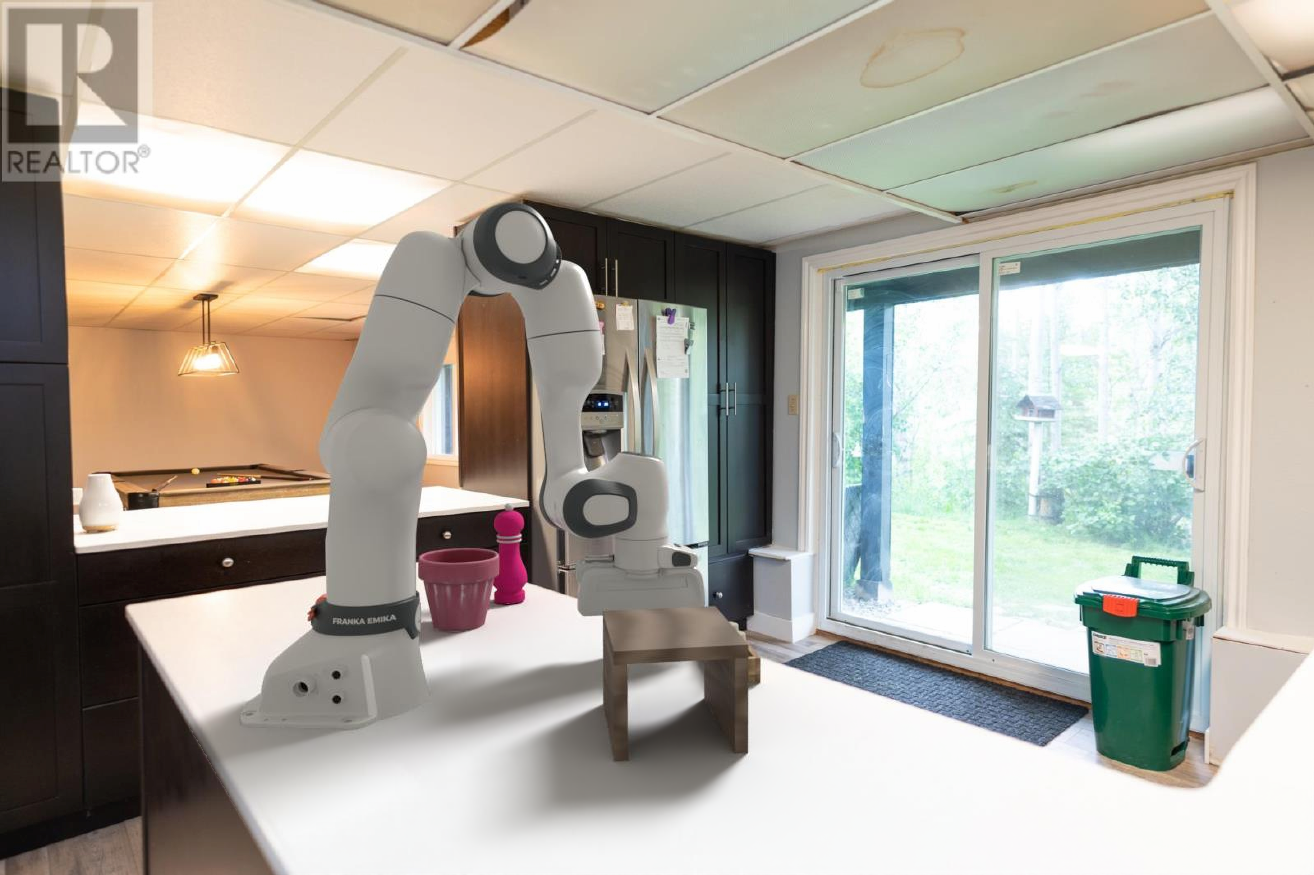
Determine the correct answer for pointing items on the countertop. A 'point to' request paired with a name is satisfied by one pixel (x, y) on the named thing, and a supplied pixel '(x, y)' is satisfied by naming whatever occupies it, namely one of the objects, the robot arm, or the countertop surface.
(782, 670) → the countertop surface
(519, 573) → the pepper mill
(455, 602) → the plant pot
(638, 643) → the brown wooden side table
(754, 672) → the teak tray
